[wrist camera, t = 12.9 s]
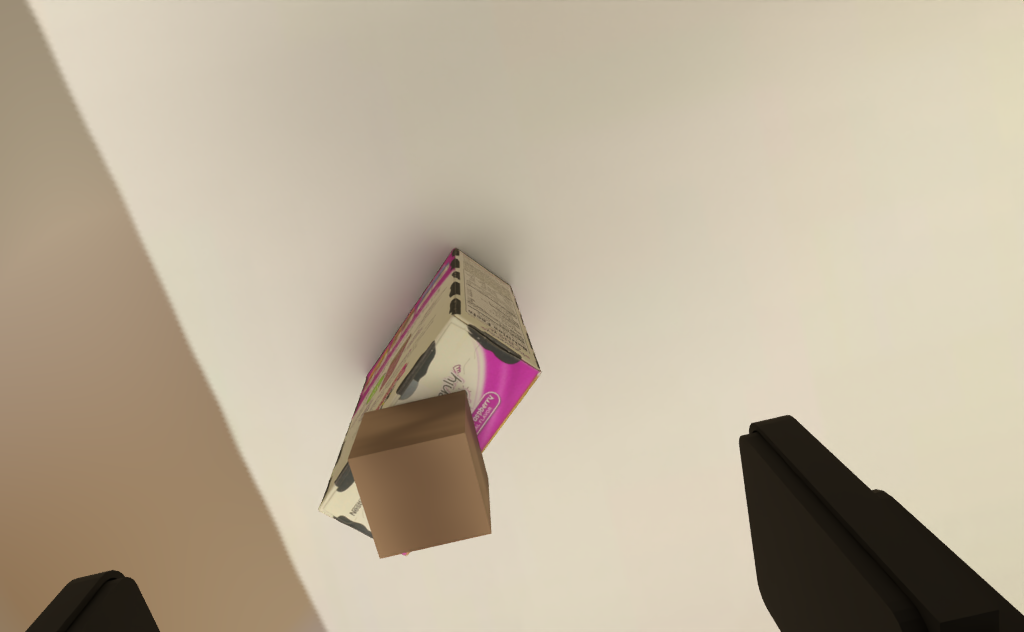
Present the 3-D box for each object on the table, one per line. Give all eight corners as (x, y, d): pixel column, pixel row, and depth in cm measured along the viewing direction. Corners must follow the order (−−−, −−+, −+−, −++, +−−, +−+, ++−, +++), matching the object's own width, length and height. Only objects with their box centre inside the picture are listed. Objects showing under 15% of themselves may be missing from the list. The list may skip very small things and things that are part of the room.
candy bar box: (426, 413, 45) (405, 564, 30) (365, 376, 44) (309, 513, 28) (517, 284, 43) (547, 374, 27) (455, 243, 42) (448, 311, 26)
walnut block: (465, 389, 27) (465, 432, 24) (488, 478, 29) (491, 533, 25) (364, 412, 27) (347, 459, 24) (391, 500, 29) (379, 558, 25)
